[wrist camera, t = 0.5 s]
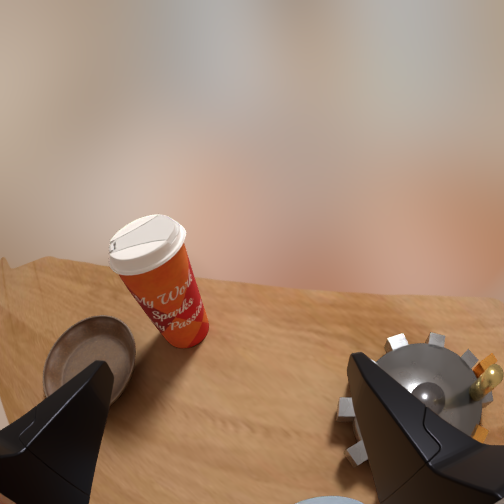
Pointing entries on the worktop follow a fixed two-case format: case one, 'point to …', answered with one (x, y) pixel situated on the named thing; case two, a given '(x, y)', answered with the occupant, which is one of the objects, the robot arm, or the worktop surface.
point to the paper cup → (161, 277)
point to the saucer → (91, 353)
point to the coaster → (330, 500)
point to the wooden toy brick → (484, 365)
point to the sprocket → (432, 386)
